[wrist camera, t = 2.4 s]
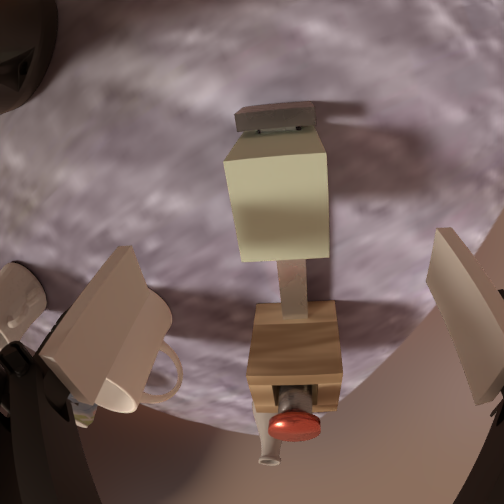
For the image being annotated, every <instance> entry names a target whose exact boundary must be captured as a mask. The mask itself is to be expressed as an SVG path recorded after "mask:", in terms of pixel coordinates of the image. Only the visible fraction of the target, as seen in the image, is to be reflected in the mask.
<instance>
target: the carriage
mask: <svg viewBox="0 0 504 504" xmlns="http://www.w3.org/2000/svg"><path fill="white" fill-rule="evenodd" d="M223 163H224V168H225V174H226V180H227V185H228V191H229V196H230V201H231V207H232V212H233V218H234V223H235V229H236V234H237V239H238V245H239V250H240V255H241V261H242V262H256V261H275V260H293V259H311V258H329V201H328V175H327V156H326V151H325V149H324V147H323V144H322V142H321V140H320V138H319V136H318V134H317V132H316V129H315V127H314V125H309V126H301V130H296V131H283V132H271V133H261V134H258V130H251V131H244V132H243V134H242V135H241V136H240V138H239V139H238V141H237V142H236V144H235V145H234V147H233V148H232V149H231V151H230V152H229V154H228V155H227V157H226V158H225V160H224V161H223Z"/></svg>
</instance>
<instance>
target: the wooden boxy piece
mask: <svg viewBox="0 0 504 504" xmlns="http://www.w3.org/2000/svg"><path fill="white" fill-rule="evenodd" d="M307 307H308V318H307V319H283V315H282V306H281V303H264V304H256V311H255V318H254V325H253V332H252V339H251V346H250V353H249V359H248V366H247V373H246V377H247V381H248V384H249V388H250V392H251V395H252V399H253V402H254V405H255V409H256V412H257V413H278V403H279V389H280V385H308V384H312V412H327V411H337V406H338V401H339V395H340V389H341V383H342V377H343V367H342V358H341V348H340V340H339V331H338V323H337V315H336V308H335V301H334V300H329V301H311V302H307Z"/></svg>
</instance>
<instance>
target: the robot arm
mask: <svg viewBox="0 0 504 504" xmlns="http://www.w3.org/2000/svg"><path fill="white" fill-rule="evenodd" d="M57 23H58V16H57V6H56V2H55V0H0V115H1V114H3V113H6V112H9V111H12V110H14V109H16V108H18V107H19V106H21V105H22V104H23V103H25V102H26V101H27V100H28V99H29V98H30V96H31V95H32V94H33V93H34V91H35V90H36V88H37V87H38V85H39V84H40V82H41V80H42V78H43V76H44V74H45V72H46V70H47V67H48V65H49V62H50V59H51V56H52V53H53V49H54V45H55V40H56V34H57ZM426 283H427V285H428V287H429V289H430V291H431V293H432V295H433V298H434V300H435V302H436V304H437V306H438V308H439V310H440V313H441V315H442V317H443V320H444V322H445V324H446V326H447V329H448V331H449V333H450V336H451V339H452V341H453V343H454V346H455V349H456V351H457V354H458V356H459V359H460V362H461V364H462V367H463V370H464V373H465V376H466V378H467V381H468V384H469V387H470V390H471V393H472V396H473V400H474V403H475V406H477V405H480V404H484V403H487V402H490V401H493V400H494V399H495V397H496V396H497V395H498V394H499V392H500V391H501V393H502V395H503V399H502V400H501V402H500V403H499V404H498V405H497V407H496V408H495V409H494V410H493V411H492V413H491V415H490V416H491V417H492V416H493V415H494V414H495V413H496V415H495V418H494V421H493V423H492V426H491V429H490V431H489V433H488V436H487V438H486V440H485V443H484V445H483V447H482V450H481V452H480V454H479V456H478V458H477V460H476V462H475V464H474V466H473V468H472V470H471V472H470V474H469V476H468V478H467V480H466V482H465V484H464V485H463V487H462V489H461V491H460V492H459V494H458V496H457V498H456V499H455V501H454V503H453V504H504V290H503V289H501V290H497V289H496V287H495V286H494V284H493V283H492V281H491V280H490V278H489V277H488V276H487V274H486V272H485V271H484V270H483V268H482V267H481V265H480V264H479V263H478V261H477V260H476V259H475V257H474V256H473V254H472V253H471V252H470V250H469V249H468V248H467V247H466V245H465V244H464V243H463V241H462V240H461V239H460V238H459V236H458V235H457V234H456V233H455V231H454V230H453V229H452V228H451V227H449V228H436V233H435V239H434V244H433V250H432V255H431V260H430V265H429V269H428V274H427V278H426ZM149 294H150V292H149V289H148V287H147V284H146V282H145V279H144V277H143V274H142V272H141V269H140V266H139V264H138V261H137V258H136V256H135V253H134V250H133V248H132V245H131V246H118V247H117V249H116V250H115V251H114V252H113V253H112V255H111V256H110V257H109V258H108V260H107V261H106V262H105V263H104V265H103V266H102V267H101V268H100V270H99V271H98V272H97V273H96V275H95V276H94V277H93V278H92V280H91V281H90V282H89V284H88V285H87V286H86V288H85V289H84V290H83V292H82V293H81V294H80V296H79V297H78V298H77V300H76V301H75V302H74V304H73V305H72V306H71V307H70V308H69V309H68V310H66V311H65V312H64V313H63V314H62V315H61V316H60V318H59V319H58V321H57V322H56V325H54V326H53V328H52V329H51V332H49V334H48V335H47V336H46V338H45V339H44V341H43V342H42V344H41V345H40V347H39V348H38V350H37V351H36V353H35V355H34V356H33V357H32V356H31V355H30V353H29V352H28V351H27V349H26V348H25V347H24V345H23V344H22V343H21V342H20V341H13V342H10V343H8V344H7V345H5V347H4V348H3V349H2V350H1V351H0V364H1V365H2V367H3V368H4V369H5V370H4V369H3V368H2V367H1V365H0V405H1V406H2V407H3V408H4V409H5V410H6V411H7V412H8V415H7V417H5V416H4V415H3V414H2V413H1V412H0V504H102V503H101V500H100V498H99V495H98V492H97V490H96V487H95V484H94V482H93V479H92V476H91V473H90V470H89V467H88V464H87V461H86V458H85V454H84V451H83V448H82V444H81V441H80V437H79V433H78V429H77V425H76V421H75V417H74V413H73V409H72V404H71V402H70V400H69V399H68V396H69V394H70V393H71V394H72V395H73V396H74V397H75V398H76V400H77V401H78V402H82V403H85V404H89V405H92V406H93V405H94V402H95V400H96V398H97V396H98V394H99V392H100V390H101V387H102V385H103V383H104V381H105V379H106V377H107V375H108V373H109V371H110V369H111V367H112V365H113V363H114V361H115V359H116V357H117V355H118V353H119V351H120V349H121V347H122V345H123V343H124V341H125V339H126V337H127V335H128V333H129V331H130V329H131V327H132V326H133V324H134V322H135V320H136V318H137V316H138V314H139V312H140V311H141V309H142V307H143V305H144V303H145V301H146V300H147V298H148V296H149Z"/></svg>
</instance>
